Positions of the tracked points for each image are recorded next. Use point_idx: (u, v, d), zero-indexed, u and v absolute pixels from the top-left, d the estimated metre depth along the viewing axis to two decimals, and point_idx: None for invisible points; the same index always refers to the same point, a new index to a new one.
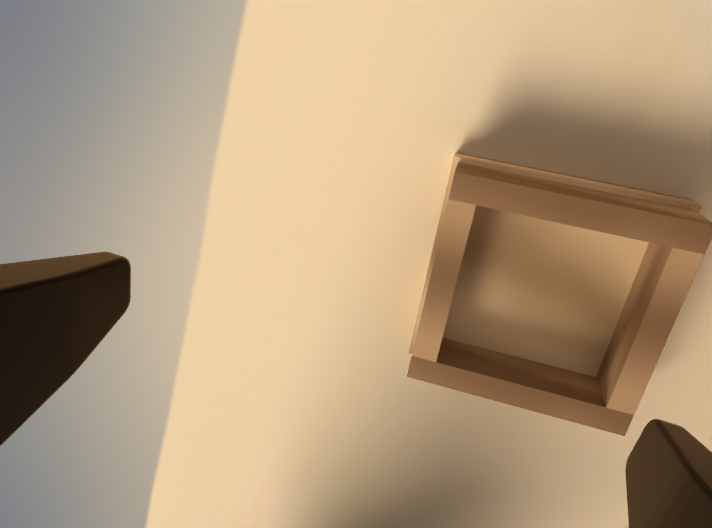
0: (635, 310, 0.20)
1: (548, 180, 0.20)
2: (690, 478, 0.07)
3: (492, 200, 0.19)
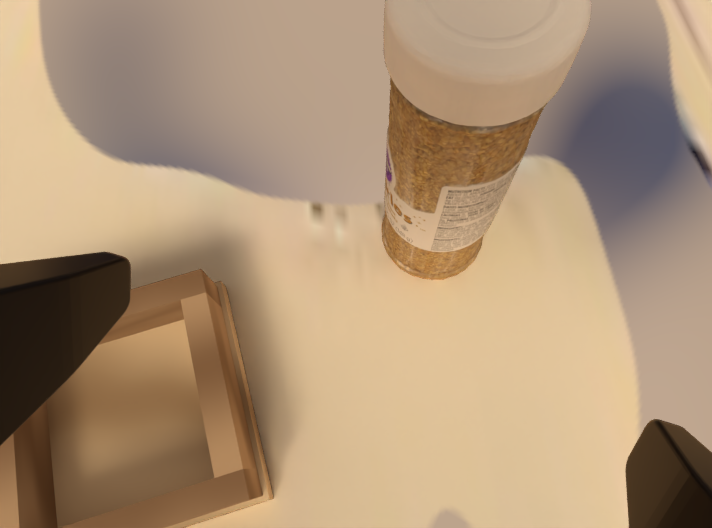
0: None
1: None
2: (690, 478, 0.07)
3: None
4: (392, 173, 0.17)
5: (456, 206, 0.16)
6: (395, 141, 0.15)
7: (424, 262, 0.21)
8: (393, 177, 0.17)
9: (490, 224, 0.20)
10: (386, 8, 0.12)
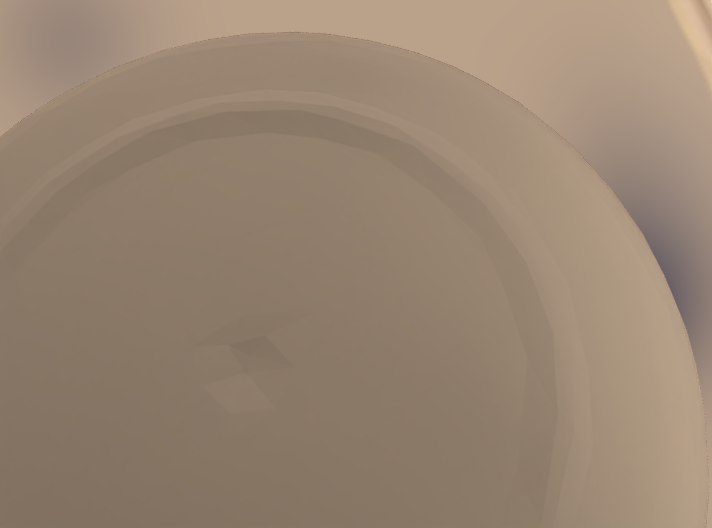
0: None
1: None
2: None
3: None
4: None
5: None
6: None
7: None
8: None
9: None
10: None
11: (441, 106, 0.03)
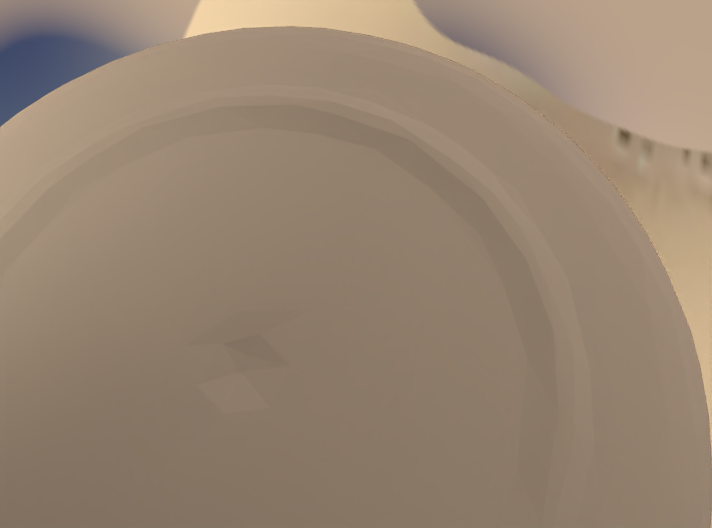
0: None
1: None
2: None
3: None
4: None
5: None
6: None
7: None
8: None
9: None
10: None
11: (439, 102, 0.03)
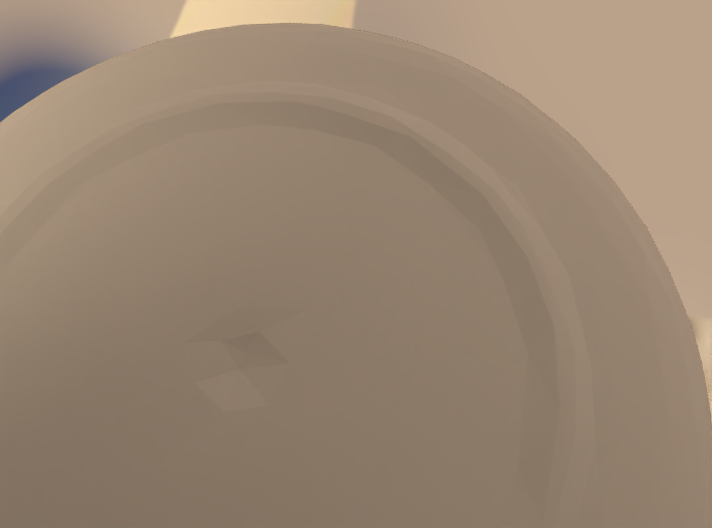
0: None
1: None
2: None
3: None
4: None
5: None
6: None
7: None
8: None
9: None
10: None
11: (438, 97, 0.03)
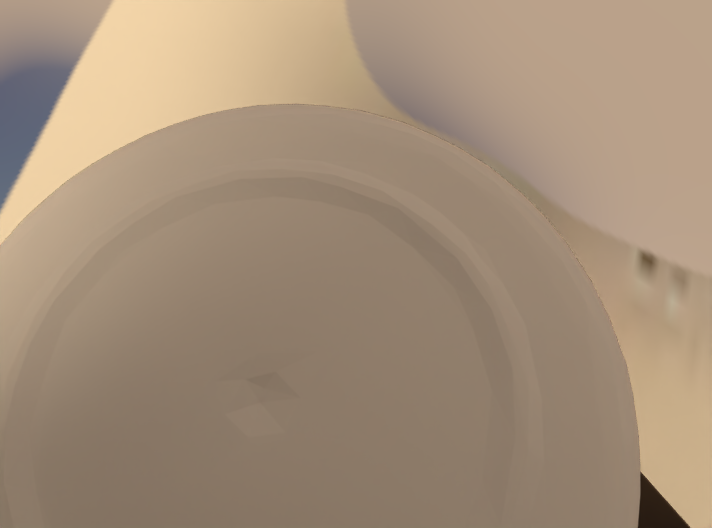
0: None
1: None
2: None
3: None
4: None
5: None
6: None
7: None
8: None
9: None
10: None
11: (421, 173, 0.04)
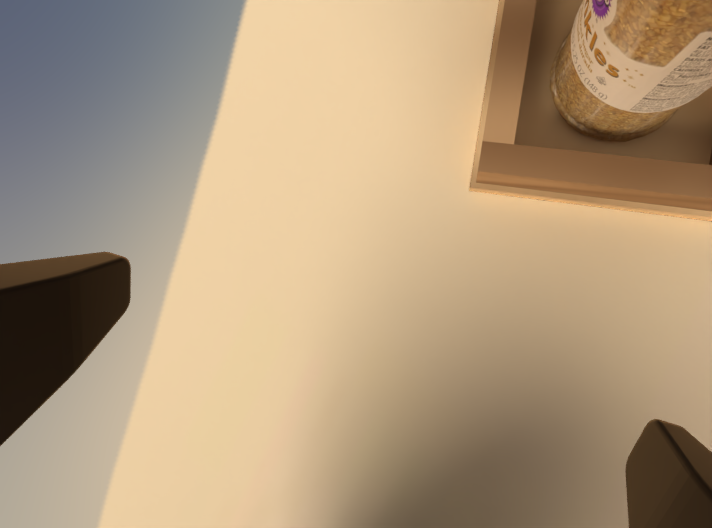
0: None
1: None
2: (690, 478, 0.07)
3: None
4: (611, 6, 0.12)
5: (707, 58, 0.11)
6: None
7: (610, 122, 0.17)
8: (611, 12, 0.12)
9: None
10: None
11: None
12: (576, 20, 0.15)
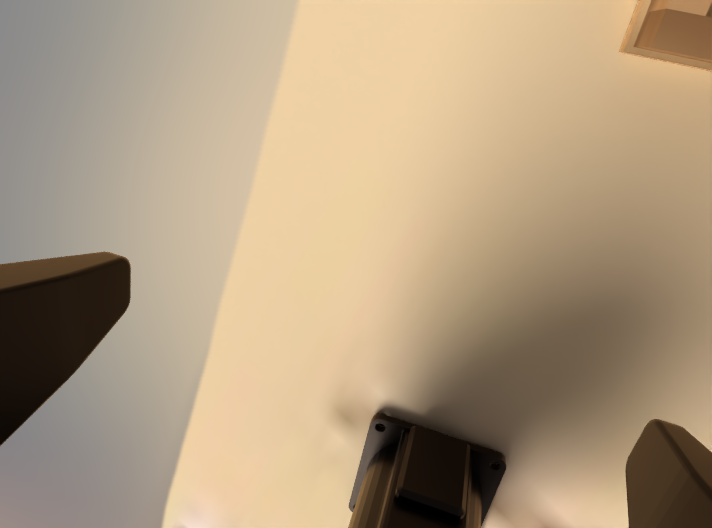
0: None
1: None
2: (690, 478, 0.07)
3: None
4: None
5: None
6: None
7: None
8: None
9: None
10: None
11: None
12: None
